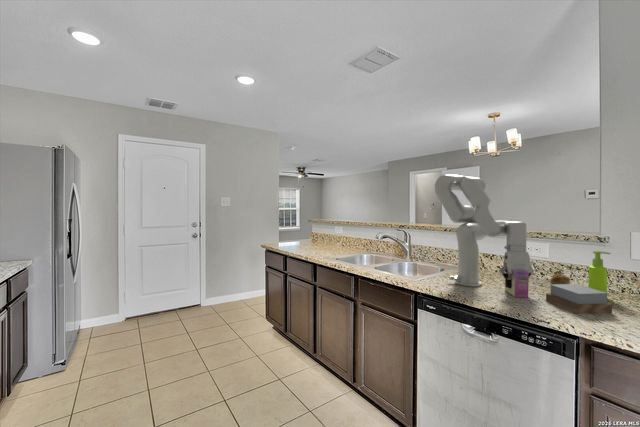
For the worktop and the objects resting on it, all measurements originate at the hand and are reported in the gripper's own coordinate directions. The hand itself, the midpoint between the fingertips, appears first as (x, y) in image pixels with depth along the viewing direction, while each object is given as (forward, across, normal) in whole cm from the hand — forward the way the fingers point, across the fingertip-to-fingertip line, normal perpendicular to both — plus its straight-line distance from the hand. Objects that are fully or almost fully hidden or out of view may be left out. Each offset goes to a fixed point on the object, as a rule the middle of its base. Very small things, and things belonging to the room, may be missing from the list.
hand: (516, 287), depth 135 cm
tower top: (0, +12, -18) cm, 22 cm away
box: (+3, 0, 0) cm, 3 cm away
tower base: (+4, +12, -18) cm, 22 cm away
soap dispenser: (+3, +32, -7) cm, 33 cm away
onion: (+3, +28, +9) cm, 30 cm away
